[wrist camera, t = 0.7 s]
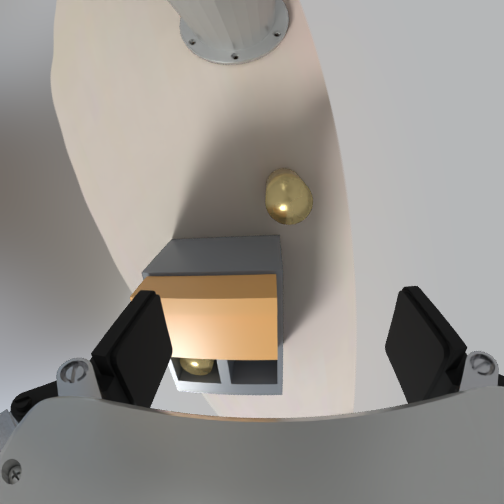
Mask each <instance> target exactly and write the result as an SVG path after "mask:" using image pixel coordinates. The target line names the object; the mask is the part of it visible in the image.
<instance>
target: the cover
mask: <svg viewBox="0 0 504 504" xmlns="http://www.w3.org/2000/svg"><path fill="white" fill-rule="evenodd" d="M140 290H152V291H155V292H156V294H158V295H159V296H160V298H161V303H162V307H163V311H164V316H165V320H166V324H167V328H168V332H169V336H170V340H171V344H172V348H173V353H172V356H171V357H180V358H195V359H217V360H278V345H277V281H276V274H261V275H218V276H147V277H146V278H145V279H144V280H143V282H142V283H141V284H140V285H139V286H138V288H137V289H136V290H135V291H134V293H133V294H132V295H131V297H130V300H131V301H132V299H133V298H134V297H135V296H136V295H137V293H138V292H139V291H140Z"/></svg>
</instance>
